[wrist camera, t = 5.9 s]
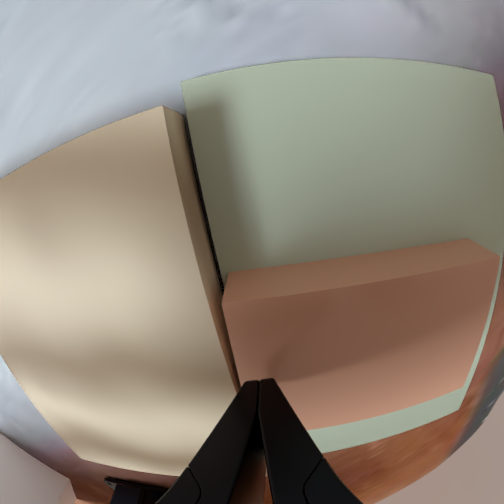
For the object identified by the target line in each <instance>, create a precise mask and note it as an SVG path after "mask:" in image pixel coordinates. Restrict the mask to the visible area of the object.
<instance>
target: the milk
mask: <svg viewBox="0 0 504 504" xmlns="http://www.w3.org/2000/svg"><path fill="white" fill-rule="evenodd" d="M76 499H77V498H76V496H75V493H74V491H73V488H72V485H71V482H70V479H69V478H67V477H65V476H63V475H62V474H60V473H58V472H56V471H55V470H53V469H51V468H50V467H48V466H46V465H45V464H43V463H42V462H40V461H39V460H37V459H35V458H34V457H32V456H31V455H29V454H28V453H27V452H25V451H24V450H22V449H21V448H20V447H18V446H17V445H15V444H14V443H13V442H11V441H10V440H9V439H7V438H6V437H5V436H4V435H2V434H1V433H0V504H74V503H75V501H76Z"/></svg>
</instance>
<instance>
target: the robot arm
mask: <svg viewBox="0 0 504 504" xmlns="http://www.w3.org/2000/svg"><path fill="white" fill-rule="evenodd" d="M266 467H267V472H268V478H269V484H270V490H271V495H272V501H273V504H363V503H362V502H361V501H360V500H359V499H358V498H357V497H356V496H355V495H354V494H353V493H352V492H351V491H350V490H349V489H348V488H347V487H346V485H345V484H344V483H343V482H342V481H341V480H340V478H339V477H338V476H337V474H336V473H335V472H334V470H333V469H332V468H331V466H330V465H329V463H328V462H327V460H326V459H325V458H324V456H323V455H322V453H321V452H320V450H319V449H318V447H317V446H316V444H315V443H314V441H313V439H312V438H311V436H310V435H309V433H308V432H307V430H306V429H305V427H304V426H303V424H302V422H301V421H300V419H299V418H298V416H297V415H296V413H295V411H294V410H293V408H292V407H291V405H290V403H289V402H288V400H287V399H286V397H285V395H284V394H283V392H282V390H281V389H280V387H279V386H278V384H277V382H276V381H275V379H274V378H266V379H261V380H260V381H259V380H249V381H245V382H244V383H243V385H242V386H241V388H240V390H239V391H238V393H237V394H236V396H235V397H234V399H233V400H232V402H231V403H230V405H229V407H228V408H227V410H226V411H225V413H224V414H223V416H222V417H221V419H220V420H219V422H218V423H217V424H216V426H215V427H214V429H213V430H212V432H211V433H210V435H209V436H208V438H207V439H206V440H205V442H204V443H203V445H202V446H201V448H200V449H199V450H198V452H197V453H196V455H195V456H194V457H193V459H192V460H191V462H190V463H189V464H188V467H186V468H185V470H184V471H183V472H182V474H181V475H180V476H179V478H178V479H177V480H176V481H175V483H174V484H173V485H172V486H171V487H170V489H169V490H167V489H164V488H158V487H151V486H145V485H139V484H134V483H129V482H124V481H119V480H115V479H110V478H105V479H104V482H105V483H106V484H107V485H108V486H110V487H111V488H112V489H113V490H114V492H113V495H112V498H111V501H110V504H263V502H264V491H265V479H266Z"/></svg>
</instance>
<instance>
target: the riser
mask: <svg viewBox="0 0 504 504" xmlns="http://www.w3.org/2000/svg"><path fill="white" fill-rule="evenodd" d="M222 299H223V293H222V290H221V286H220V282H219V278H218V274H217V270H216V266H215V261H214V257H213V253H212V249H211V245H210V241H209V236H208V232H207V228H206V223H205V219H204V215H203V210H202V206H201V201H200V197H199V192H198V187H197V183H196V178H195V173H194V169H193V164H192V159H191V154H190V149H189V144H188V139H187V134H186V129H185V123H184V118H183V115H182V114H180V113H178V112H175V111H173V110H171V109H169V108H167V107H165V106H163V105H162V106H159V107H156V108H153V109H150V110H147V111H144V112H141V113H138V114H135V115H132V116H129V117H126V118H124V119H121V120H118V121H116V122H113V123H111V124H108V125H106V126H103V127H101V128H98V129H96V130H93V131H91V132H89V133H87V134H84V135H82V136H80V137H78V138H75V139H73V140H71V141H69V142H67V143H65V144H63V145H61V146H59V147H57V148H55V149H53V150H51V151H49V152H47V153H45V154H43V155H41V156H39V157H38V158H36V159H34V160H32V161H30V162H29V163H27V164H25V165H23V166H22V167H20V168H18V169H17V170H15V171H13V172H12V173H10V174H8V175H7V176H5V177H4V178H2V179H1V180H0V354H1V356H2V358H3V359H4V361H5V363H6V364H7V366H8V368H9V369H10V371H11V372H12V374H13V376H14V377H15V379H16V380H17V382H18V383H19V385H20V386H21V388H22V389H23V390H24V392H25V393H26V395H27V396H28V397H29V399H30V400H31V402H32V403H33V404H34V406H35V407H36V408H37V409H38V411H39V412H40V413H41V415H42V416H43V417H44V418H45V420H46V421H47V422H48V423H49V424H50V426H51V427H52V428H53V429H54V430H55V431H56V433H57V434H58V435H59V436H60V437H61V438H62V439H63V440H64V442H65V443H66V444H67V445H68V446H69V447H70V448H71V449H72V450H73V451H74V452H75V453H76V454H77V455H78V456H79V457H80V458H81V459H84V460H88V461H92V462H96V463H100V464H104V465H109V466H113V467H118V468H123V469H129V470H135V471H141V472H147V473H155V474H163V475H173V476H180V475H181V474H182V472H183V471H184V470H185V468H186V467H188V464H189V463H190V462H191V460H192V459H193V457H194V456H195V455H196V453H197V452H198V450H199V449H200V448H201V446H202V445H203V443H204V442H205V440H206V439H207V438H208V436H209V435H210V433H211V432H212V430H213V429H214V427H215V426H216V424H217V423H218V422H219V420H220V419H221V417H222V416H223V414H224V413H225V411H226V410H227V408H228V407H229V405H230V403H231V402H232V400H233V399H234V397H235V396H236V394H237V393H238V391H239V390H240V388H241V384H240V380H239V376H238V372H237V368H236V364H235V360H234V355H233V351H232V347H231V343H230V339H229V334H228V330H227V325H226V321H225V317H224V312H223V308H222ZM266 476H267V467H266Z"/></svg>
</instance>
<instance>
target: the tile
mask: <svg viewBox="0 0 504 504" xmlns="http://www.w3.org/2000/svg"><path fill="white" fill-rule="evenodd" d="M499 261H500V256H499V255H497V254H495V253H494V252H492V251H490V250H488V249H487V248H485V247H483V246H481V245H479V244H478V243H476V242H474V241H472V240H470V239H468V238H467V239H461V240H454V241H448V242H442V243H436V244H429V245H423V246H416V247H410V248H403V249H396V250H389V251H383V252H376V253H369V254H362V255H355V256H348V257H341V258H334V259H326V260H319V261H312V262H304V263H297V264H289V265H281V266H274V267H266V268H258V269H250V270H242V271H234V272H229V273H228V277H227V282H226V286H225V290H224V294H223V299H222V308H223V312H224V317H225V321H226V325H227V330H228V334H229V339H230V343H231V347H232V351H233V355H234V360H235V364H236V368H237V372H238V376H239V380H240V384H241V386H242V385H243V383H244V382H245V381H249V380H259V381H260V380H261V379H266V378H274V379H275V381H276V382H277V384H278V386H279V387H280V389H281V390H282V392H283V394H284V395H285V397H286V399H287V400H288V402H289V403H290V405H291V407H292V408H293V410H294V411H295V413H296V415H297V416H298V418H299V419H300V421H301V422H302V424H303V426H304V427H305V429H306V430H313V429H319V428H325V427H331V426H336V425H341V424H346V423H351V422H356V421H360V420H364V419H369V418H373V417H377V416H380V415H384V414H388V413H391V412H395V411H398V410H402V409H405V408H408V407H411V406H414V405H417V404H420V403H423V402H426V401H429V400H432V399H434V398H437V397H440V396H442V395H445V394H447V393H450V392H452V391H455V390H457V389H460V388H462V387H463V386H464V384H465V381H466V379H467V376H468V374H469V371H470V369H471V366H472V364H473V361H474V358H475V355H476V353H477V350H478V347H479V344H480V341H481V338H482V334H483V331H484V328H485V324H486V321H487V317H488V314H489V310H490V306H491V302H492V297H493V293H494V288H495V284H496V279H497V273H498V268H499Z"/></svg>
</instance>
